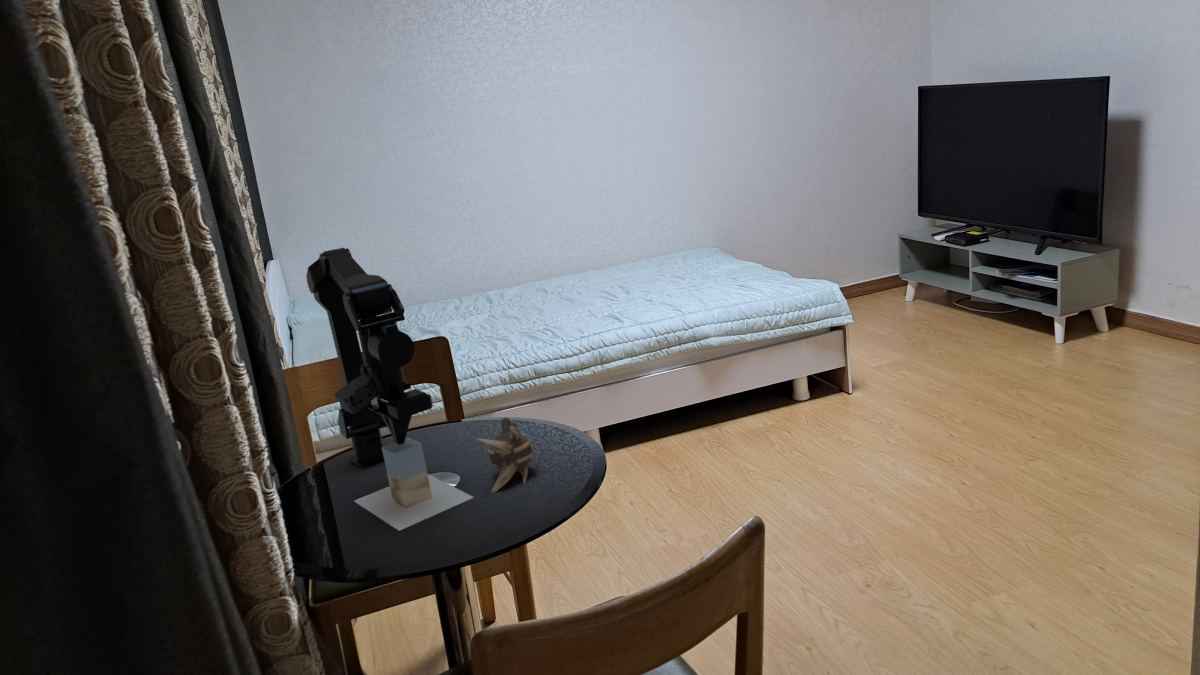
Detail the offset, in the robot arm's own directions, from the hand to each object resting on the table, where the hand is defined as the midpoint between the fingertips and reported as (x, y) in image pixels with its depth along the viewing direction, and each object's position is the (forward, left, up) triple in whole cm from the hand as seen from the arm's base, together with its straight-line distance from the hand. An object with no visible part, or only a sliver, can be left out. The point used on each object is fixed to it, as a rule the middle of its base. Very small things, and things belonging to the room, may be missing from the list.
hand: (400, 443), depth 142 cm
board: (0, 0, -11) cm, 11 cm away
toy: (+6, +17, -11) cm, 21 cm away
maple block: (0, 0, -10) cm, 10 cm away
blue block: (0, 0, -5) cm, 5 cm away
